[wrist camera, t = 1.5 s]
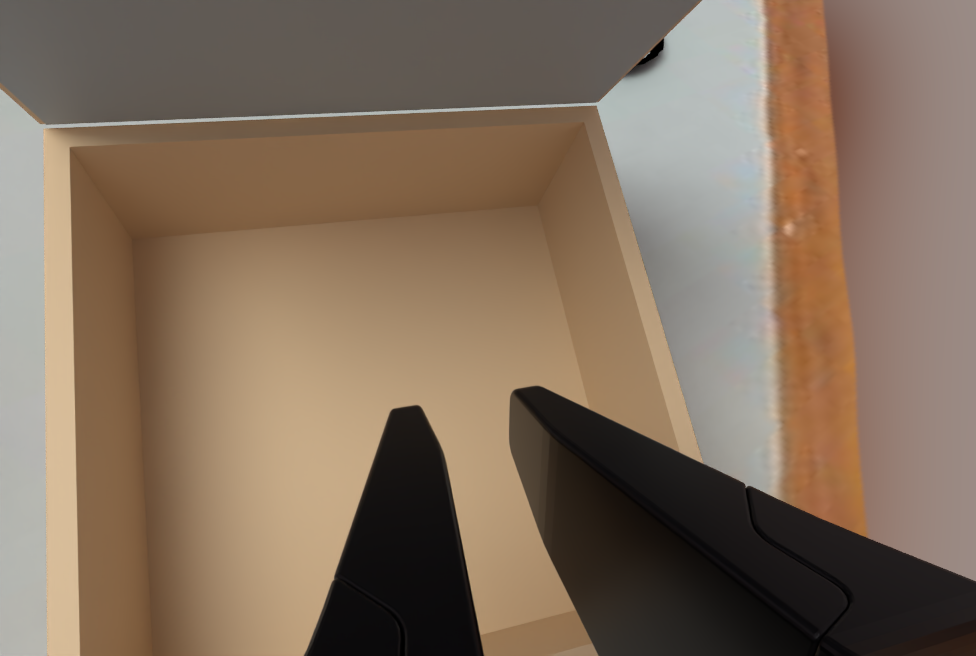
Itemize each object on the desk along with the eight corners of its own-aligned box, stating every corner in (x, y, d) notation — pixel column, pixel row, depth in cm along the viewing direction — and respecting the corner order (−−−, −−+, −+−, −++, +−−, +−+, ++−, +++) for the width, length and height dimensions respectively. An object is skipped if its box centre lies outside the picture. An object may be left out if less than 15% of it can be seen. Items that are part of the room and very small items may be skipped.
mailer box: (649, 607, 22) (751, 625, 17) (139, 745, 18) (48, 831, 12) (543, 198, 27) (596, 105, 21) (117, 233, 22) (43, 128, 17)
